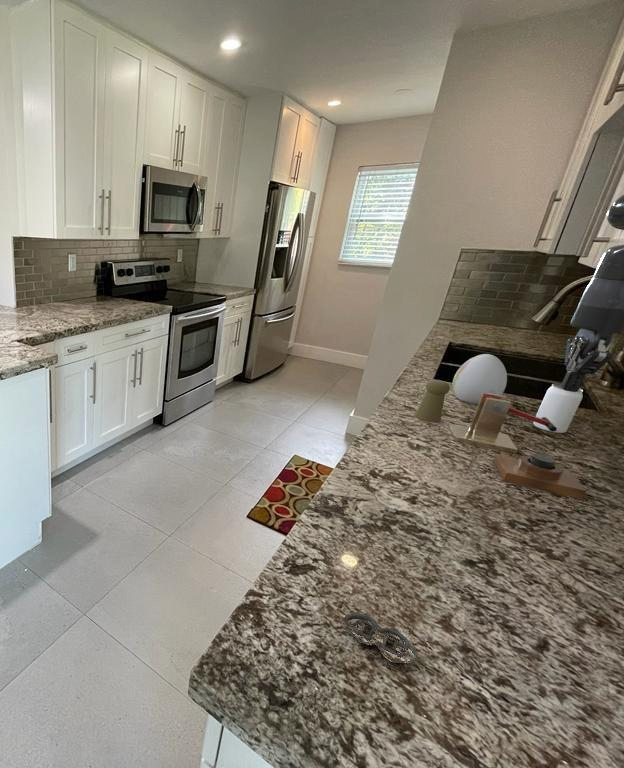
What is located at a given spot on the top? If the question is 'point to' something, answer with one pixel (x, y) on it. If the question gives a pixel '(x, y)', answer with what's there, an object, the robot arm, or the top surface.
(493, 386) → the decorative egg
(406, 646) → the corroded twin loop
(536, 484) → the button block
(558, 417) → the can
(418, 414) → the olive pepper shaker
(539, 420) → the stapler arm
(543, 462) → the button
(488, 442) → the brass bookend
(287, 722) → the top surface
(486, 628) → the top surface
